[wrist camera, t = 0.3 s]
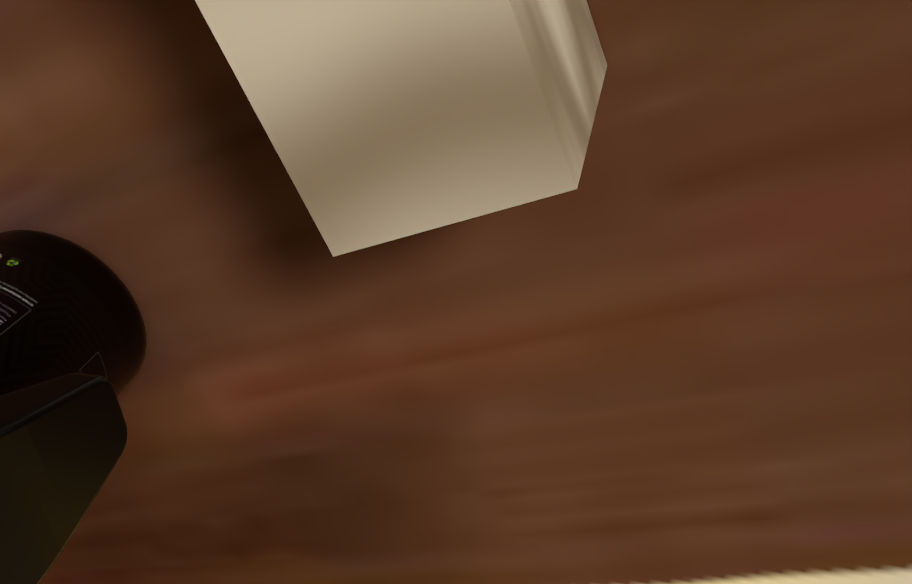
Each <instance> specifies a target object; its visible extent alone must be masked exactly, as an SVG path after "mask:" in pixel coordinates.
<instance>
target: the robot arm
mask: <svg viewBox="0 0 912 584" xmlns="http://www.w3.org/2000/svg"><path fill="white" fill-rule="evenodd" d="M126 440H127V427H126V423H125V420H124V417H123V414H122V411H121V408H120V405H119V402H118V399H117V396H116V393H115V390H114V387H113V385H112V383H111V382H110V381H109V380H108V379H107V378H105V377H103V376H99V375H92V374H85V373H70V374H67V375H64V376H61V377H58V378H54V379H51V380H48V381H45V382H42V383H39V384H36V385H33V386H30V387H27V388H23V389H20V390H17V391H14V392H11V393H8V394H5V395H2V396H0V584H38V583H39V582H40V580H41V579H42V578H43V577H44V575H45V574H46V573H47V571H48V570H49V569H50V567H51V566H52V564H53V563H54V562H55V560H56V559H57V557H58V556H59V555H60V553H61V552H62V550H63V549H64V547H65V546H66V544H67V542H68V541H69V539H70V538H71V536H72V535H73V533H74V531H75V530H76V528H77V527H78V525H79V523H80V522H81V520H82V518H83V517H84V515H85V513H86V512H87V510H88V508H89V507H90V505H91V503H92V502H93V500H94V498H95V497H96V495H97V494H98V492H99V490H100V489H101V487H102V485H103V484H104V482H105V480H106V479H107V477H108V475H109V474H110V472H111V470H112V469H113V467H114V466H115V464H116V462H117V461H118V459H119V457H120V456H121V454H122V452H123V450H124V447H125V444H126Z"/></svg>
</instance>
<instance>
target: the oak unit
mask: <svg viewBox="0 0 912 584" xmlns="http://www.w3.org/2000/svg"><path fill="white" fill-rule="evenodd" d="M195 1H196V3H197V5H198V7H199V9H200V11H201V13H202V14H203V16H204V18H205V20H206V22H207V24H208V26H209V27H210V29H211V31H212V33H213V35H214V37H215V39H216V40H217V42H218V44H219V46H220V48H221V50H222V52H223V53H224V55H225V57H226V59H227V61H228V63H229V64H230V66H231V68H232V70H233V72H234V74H235V76H236V77H237V79H238V81H239V83H240V85H241V87H242V89H243V90H244V92H245V94H246V96H247V98H248V100H249V102H250V103H251V105H252V107H253V109H254V111H255V113H256V115H257V116H258V118H259V120H260V122H261V124H262V126H263V128H264V129H265V131H266V133H267V135H268V137H269V139H270V141H271V142H272V144H273V146H274V148H275V150H276V152H277V153H278V155H279V157H280V159H281V161H282V163H283V165H284V166H285V168H286V170H287V172H288V174H289V176H290V178H291V179H292V181H293V183H294V185H295V187H296V189H297V191H298V192H299V194H300V196H301V198H302V200H303V202H304V204H305V205H306V207H307V209H308V211H309V213H310V215H311V217H312V218H313V220H314V222H315V224H316V226H317V228H318V229H319V231H320V233H321V235H322V237H323V239H324V241H325V242H326V244H327V246H328V248H329V250H330V252H331V254H332V255H333V257H334V256H338V255H341V254H345V253H349V252H352V251H356V250H359V249H363V248H367V247H370V246H374V245H377V244H381V243H385V242H388V241H392V240H395V239H399V238H402V237H406V236H410V235H413V234H417V233H420V232H424V231H428V230H431V229H435V228H438V227H442V226H446V225H449V224H453V223H456V222H460V221H464V220H467V219H471V218H474V217H478V216H481V215H485V214H489V213H492V212H496V211H499V210H503V209H507V208H510V207H514V206H517V205H521V204H525V203H528V202H532V201H535V200H539V199H543V198H546V197H550V196H553V195H557V194H560V193H564V192H568V191H571V190H575V189H577V187H578V183H579V179H580V175H581V171H582V167H583V163H584V159H585V155H586V150H587V146H588V142H589V138H590V134H591V130H592V126H593V122H594V118H595V113H596V109H597V105H598V101H599V97H600V93H601V89H602V85H603V81H604V76H605V72H606V68H607V63H606V60H605V57H604V54H603V51H602V47H601V44H600V41H599V38H598V35H597V32H596V29H595V26H594V23H593V19H592V16H591V13H590V10H589V7H588V4H587V1H586V0H195Z"/></svg>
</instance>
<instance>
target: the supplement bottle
mask: <svg viewBox="0 0 912 584" xmlns="http://www.w3.org/2000/svg"><path fill="white" fill-rule="evenodd" d="M145 344H146V342H145V329H144V324H143V320H142V317H141V314H140V311H139V309H138V307H137V304H136V302H135V301H134V299H133V297H132V295H131V294H130V292H129V291H128V289H127V288H126V286H125V285H124V284H123V282H122V281H121V280H120V279H119V277H118V276H117V275H116V274H115V273H114V272H113V271H112V270H111V269H110V268H109V267H108V266H107V265H106V264H105V263H103V262H102V261H101V260H100V259H98V258H97V257H96V256H95V255H93V254H92V253H90V252H89V251H87V250H86V249H84V248H82V247H81V246H79V245H77V244H75V243H73V242H71V241H69V240H66V239H64V238H62V237H59V236H56V235H53V234H49V233H44V232H40V231H33V230H13V231H7V232H2V233H0V396H2V395H5V394H8V393H11V392H14V391H17V390H20V389H23V388H27V387H30V386H33V385H36V384H39V383H42V382H45V381H48V380H51V379H54V378H58V377H61V376H64V375H67V374H70V373H85V374H92V375H99V376H103V377H105V378H107V379H108V380H109V381H110V382H111V383H112V385H113V387H114V390H115V393H116V396H117V395H118V394H119V393H120V392H121V391H122V390H123V389H124V387H125V386H126V385H127V384H128V383H129V382H130V380H131V379H132V378H133V377H134V375H135V374H136V373H137V371H138V369H139V368H140V365H141V363H142V360H143V357H144V353H145Z"/></svg>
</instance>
